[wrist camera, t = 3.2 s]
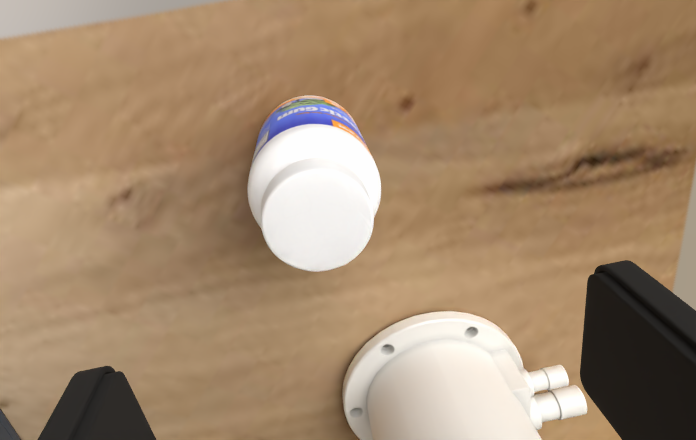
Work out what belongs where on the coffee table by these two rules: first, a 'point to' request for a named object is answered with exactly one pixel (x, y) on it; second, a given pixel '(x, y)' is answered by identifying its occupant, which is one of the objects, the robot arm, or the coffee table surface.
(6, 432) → the carton
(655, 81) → the coffee table surface
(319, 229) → the pill bottle
